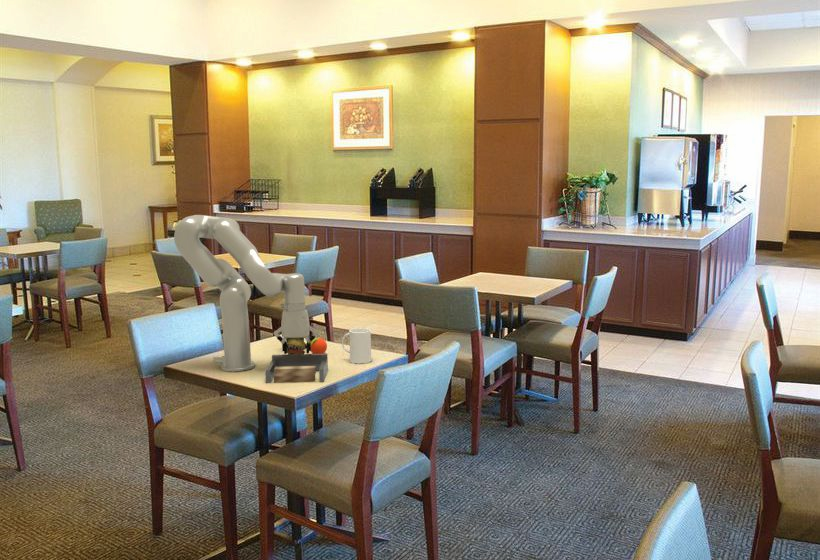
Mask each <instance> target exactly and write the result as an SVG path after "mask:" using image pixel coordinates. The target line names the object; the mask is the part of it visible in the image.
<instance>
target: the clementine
mask: <svg viewBox="0 0 820 560" xmlns="http://www.w3.org/2000/svg"><path fill="white" fill-rule="evenodd" d="M327 350H328V344H327V342H326V340H325V339H323V338H321V337H315V338H314V339H313V340H312V341H311V351H310V352H311V354H326V351H327Z"/></svg>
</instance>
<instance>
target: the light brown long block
mask: <svg viewBox="0 0 820 560" xmlns="http://www.w3.org/2000/svg"><path fill="white" fill-rule="evenodd" d="M316 373H317V371H316V366H288V367H275V369H274V377H273V383H276V382H281V383H310V382H311V383H313V382H315V381H316Z"/></svg>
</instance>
